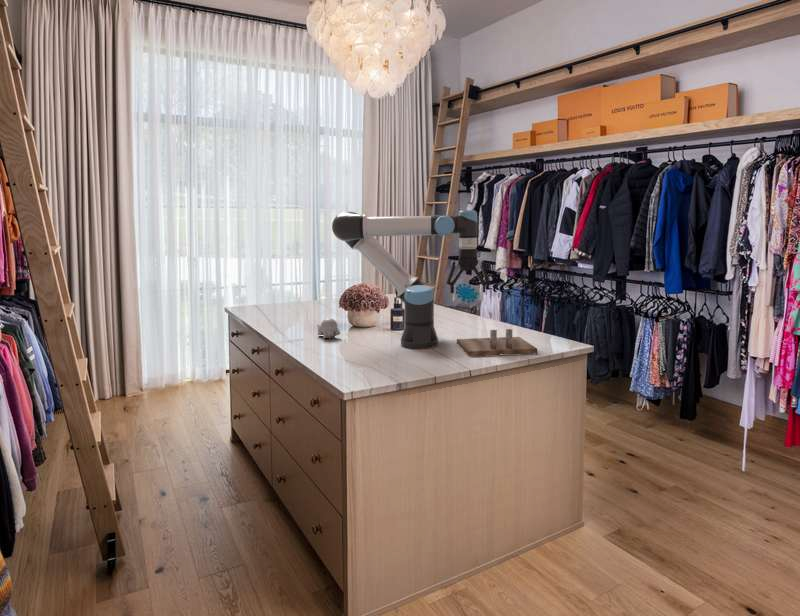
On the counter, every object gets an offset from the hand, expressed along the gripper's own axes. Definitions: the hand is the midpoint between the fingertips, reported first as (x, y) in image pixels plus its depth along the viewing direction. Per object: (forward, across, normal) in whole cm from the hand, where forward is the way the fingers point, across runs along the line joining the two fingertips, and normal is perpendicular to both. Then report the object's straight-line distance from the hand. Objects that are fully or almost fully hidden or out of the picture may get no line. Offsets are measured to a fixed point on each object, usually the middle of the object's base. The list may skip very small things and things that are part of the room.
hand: (467, 300), depth 251 cm
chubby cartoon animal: (+16, -59, +12) cm, 62 cm away
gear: (+1, 0, 0) cm, 1 cm away
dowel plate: (+16, +6, -22) cm, 28 cm away
